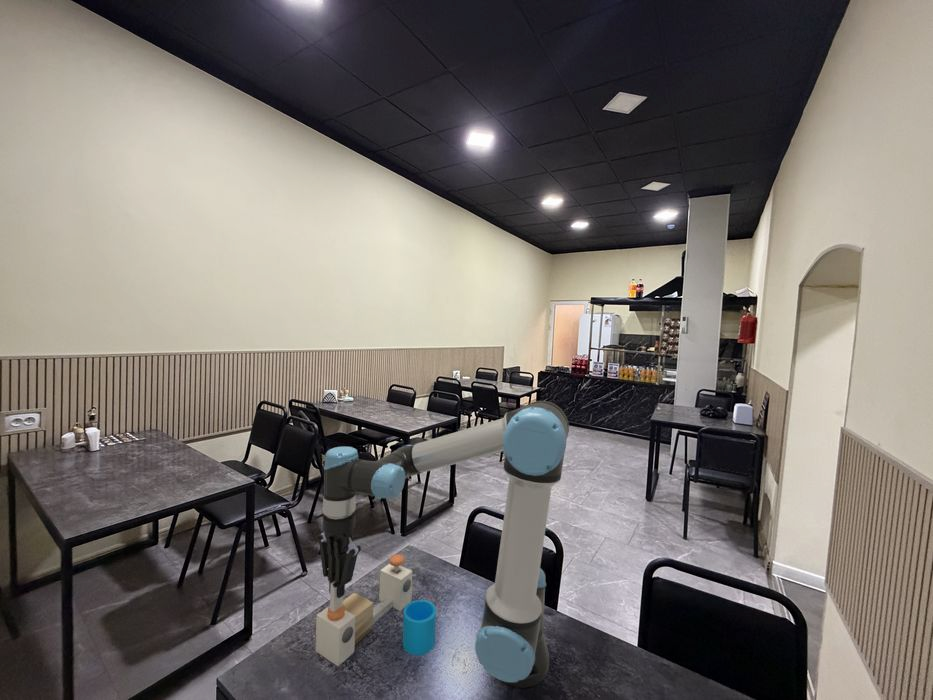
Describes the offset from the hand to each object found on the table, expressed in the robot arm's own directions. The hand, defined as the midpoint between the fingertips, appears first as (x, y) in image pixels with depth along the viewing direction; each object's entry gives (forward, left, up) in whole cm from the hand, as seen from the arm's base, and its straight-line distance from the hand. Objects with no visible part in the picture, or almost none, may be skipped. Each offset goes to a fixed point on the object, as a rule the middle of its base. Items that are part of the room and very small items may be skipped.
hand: (336, 607), depth 94 cm
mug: (-15, -16, -11) cm, 24 cm away
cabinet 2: (0, -22, -11) cm, 25 cm away
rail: (0, -11, -11) cm, 15 cm away
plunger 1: (0, 0, -5) cm, 5 cm away
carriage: (0, -6, -11) cm, 12 cm away
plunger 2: (0, -22, -3) cm, 22 cm away
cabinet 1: (0, 0, -11) cm, 11 cm away
